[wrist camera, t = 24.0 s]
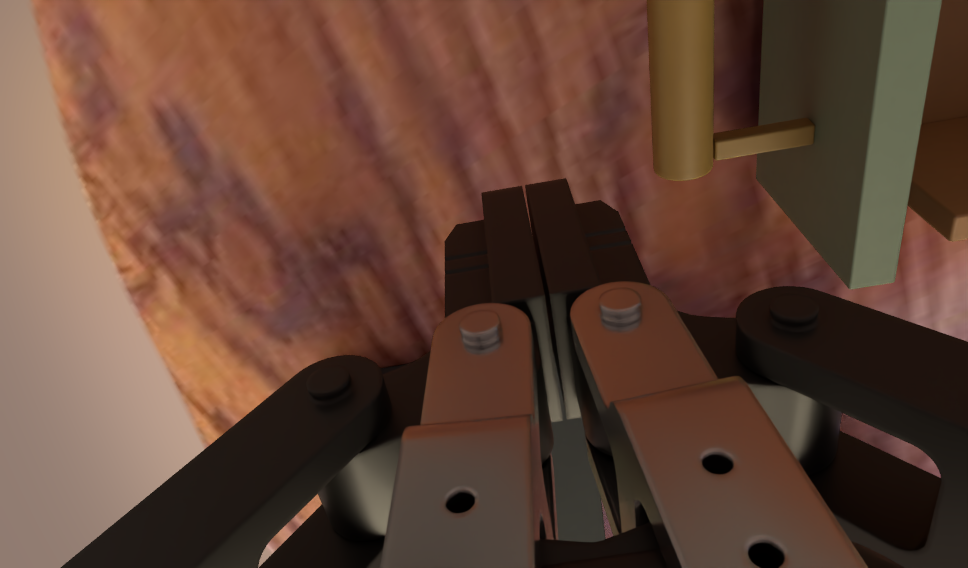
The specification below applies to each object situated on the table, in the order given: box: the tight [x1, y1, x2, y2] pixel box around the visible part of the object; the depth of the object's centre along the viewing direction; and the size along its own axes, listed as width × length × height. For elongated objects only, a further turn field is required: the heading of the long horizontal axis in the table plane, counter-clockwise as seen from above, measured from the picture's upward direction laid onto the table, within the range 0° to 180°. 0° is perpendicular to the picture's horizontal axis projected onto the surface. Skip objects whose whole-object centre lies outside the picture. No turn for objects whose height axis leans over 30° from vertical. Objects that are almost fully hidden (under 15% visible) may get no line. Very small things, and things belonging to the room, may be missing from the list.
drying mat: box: [381, 348, 605, 542], centre depth 34 cm, size 16×10×1 cm, turn 9°
